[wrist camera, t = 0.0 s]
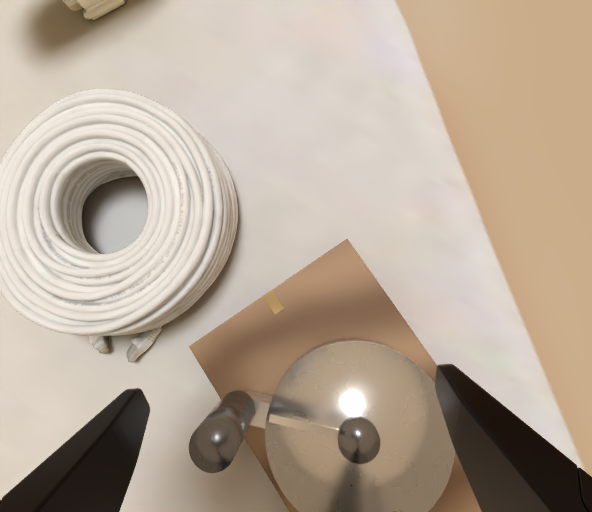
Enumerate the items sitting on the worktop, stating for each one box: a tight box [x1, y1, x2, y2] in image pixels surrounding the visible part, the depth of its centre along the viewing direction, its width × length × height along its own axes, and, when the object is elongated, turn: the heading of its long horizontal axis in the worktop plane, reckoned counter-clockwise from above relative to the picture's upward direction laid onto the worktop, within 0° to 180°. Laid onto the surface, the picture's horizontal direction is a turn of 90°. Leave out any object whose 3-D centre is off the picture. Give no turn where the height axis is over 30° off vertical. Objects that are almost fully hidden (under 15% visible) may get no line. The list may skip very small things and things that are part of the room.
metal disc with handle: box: [189, 338, 455, 512], centre depth 19 cm, size 15×12×6 cm
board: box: [189, 239, 482, 512], centre depth 23 cm, size 22×14×2 cm, turn 34°
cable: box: [0, 89, 238, 362], centre depth 24 cm, size 18×18×6 cm
